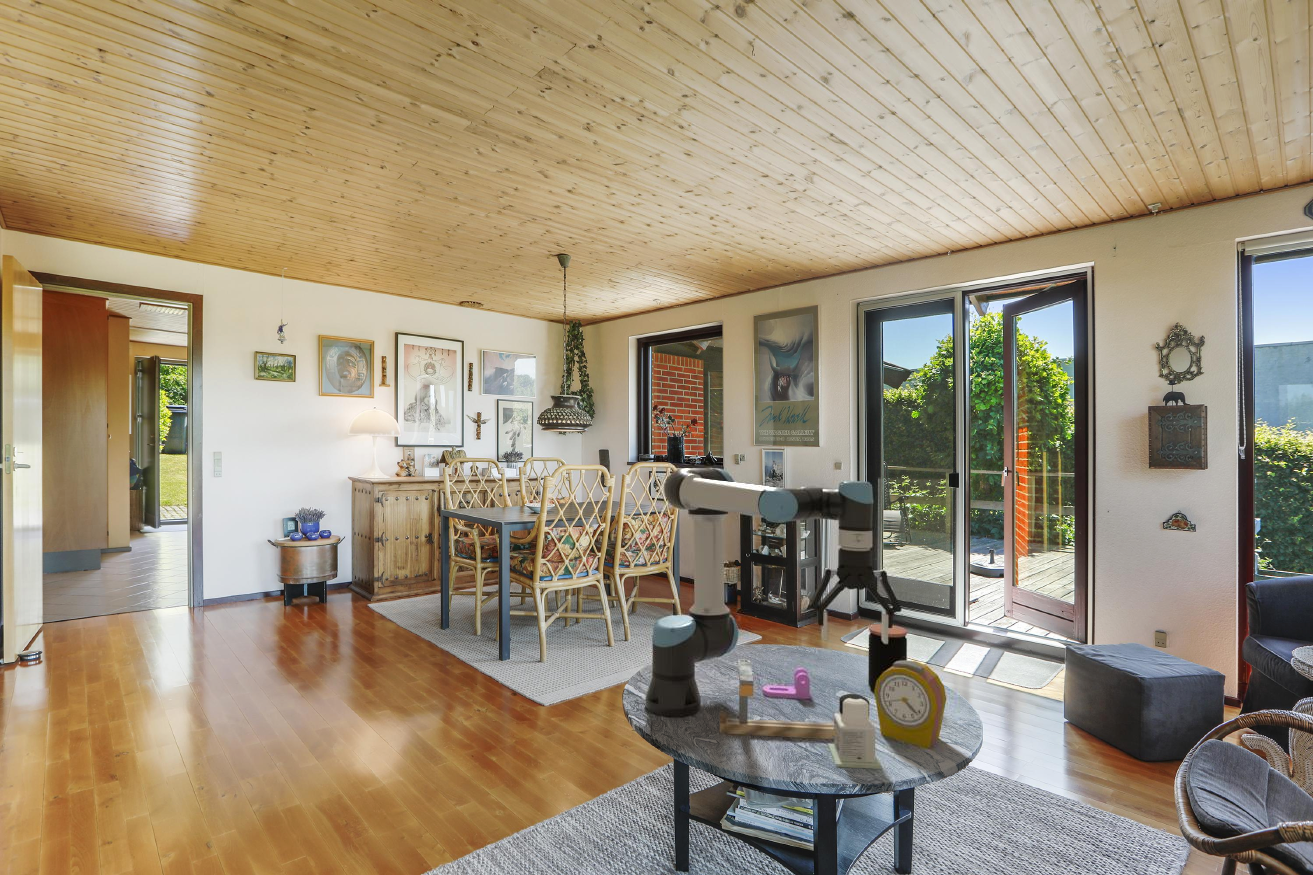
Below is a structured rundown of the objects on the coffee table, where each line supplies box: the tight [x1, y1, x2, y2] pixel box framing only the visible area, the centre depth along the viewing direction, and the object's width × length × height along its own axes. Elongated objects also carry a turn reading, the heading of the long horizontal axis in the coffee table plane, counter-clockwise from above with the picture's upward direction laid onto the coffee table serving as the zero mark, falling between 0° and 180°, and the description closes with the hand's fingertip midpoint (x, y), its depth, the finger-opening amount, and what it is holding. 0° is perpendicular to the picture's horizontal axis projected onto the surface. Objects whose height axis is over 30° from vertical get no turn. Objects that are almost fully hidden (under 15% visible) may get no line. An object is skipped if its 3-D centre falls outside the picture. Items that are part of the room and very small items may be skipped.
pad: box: [827, 743, 883, 770], centre depth 146 cm, size 10×10×1 cm
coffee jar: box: [867, 623, 908, 693], centre depth 188 cm, size 11×11×18 cm
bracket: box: [762, 667, 811, 700], centre depth 184 cm, size 13×6×7 cm, turn 83°
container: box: [833, 693, 876, 763], centre depth 146 cm, size 8×8×13 cm
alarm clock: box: [873, 660, 947, 749], centre depth 157 cm, size 15×8×18 cm, turn 50°
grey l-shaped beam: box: [737, 658, 754, 722], centre depth 152 cm, size 3×15×15 cm, turn 175°
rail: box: [719, 711, 834, 740], centre depth 158 cm, size 32×3×4 cm, turn 85°
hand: (854, 640), depth 147 cm, fingers open, 13 cm apart
